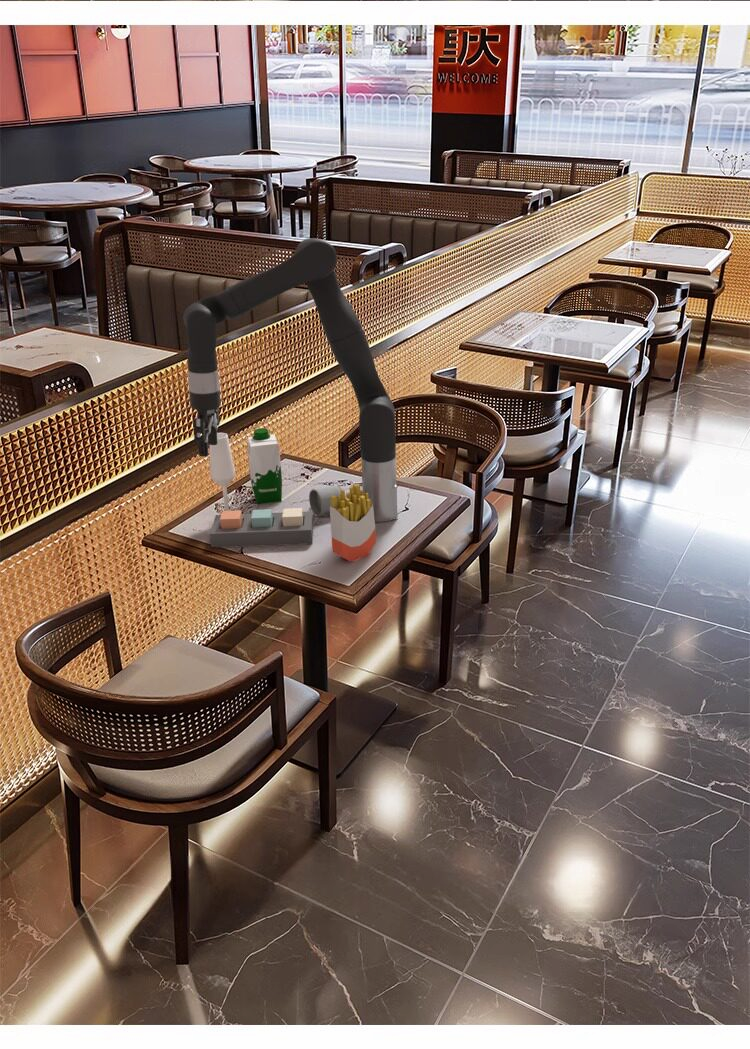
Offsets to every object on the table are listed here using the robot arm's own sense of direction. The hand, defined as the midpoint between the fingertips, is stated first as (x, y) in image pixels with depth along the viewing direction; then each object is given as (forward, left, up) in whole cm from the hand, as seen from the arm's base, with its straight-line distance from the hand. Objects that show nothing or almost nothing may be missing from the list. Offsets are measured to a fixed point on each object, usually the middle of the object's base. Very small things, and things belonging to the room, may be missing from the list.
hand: (208, 450), depth 218 cm
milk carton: (-11, -22, -24) cm, 35 cm away
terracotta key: (-4, +2, -21) cm, 21 cm away
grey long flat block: (-12, +2, -24) cm, 27 cm away
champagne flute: (-1, -10, -24) cm, 26 cm away
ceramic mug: (-28, -13, -24) cm, 39 cm away
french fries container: (-36, +15, -24) cm, 46 cm away
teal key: (-12, +2, -21) cm, 24 cm away
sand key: (-20, +2, -21) cm, 29 cm away
